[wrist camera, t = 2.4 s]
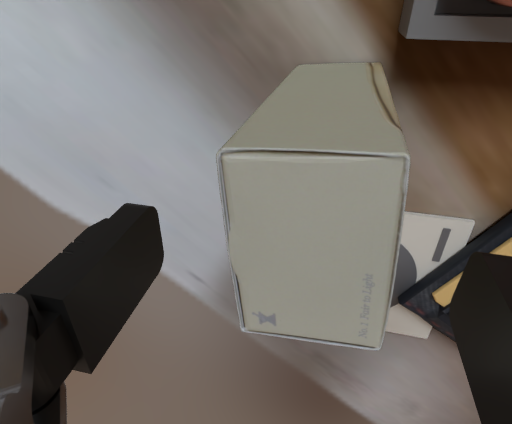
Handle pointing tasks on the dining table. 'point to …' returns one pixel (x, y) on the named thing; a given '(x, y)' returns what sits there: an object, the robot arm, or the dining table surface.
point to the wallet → (453, 278)
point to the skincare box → (317, 207)
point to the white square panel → (423, 262)
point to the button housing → (456, 20)
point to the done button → (502, 2)
